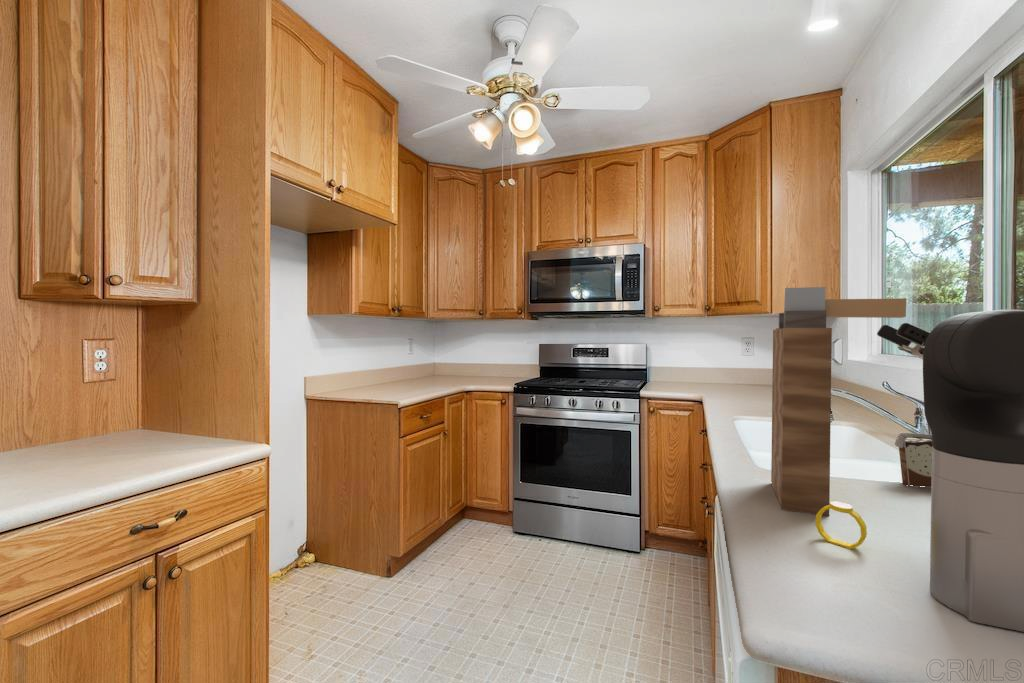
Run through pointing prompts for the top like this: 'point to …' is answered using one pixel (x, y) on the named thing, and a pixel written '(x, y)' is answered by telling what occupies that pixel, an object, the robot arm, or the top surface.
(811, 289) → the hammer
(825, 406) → the stand
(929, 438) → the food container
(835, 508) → the watch
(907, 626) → the top surface
